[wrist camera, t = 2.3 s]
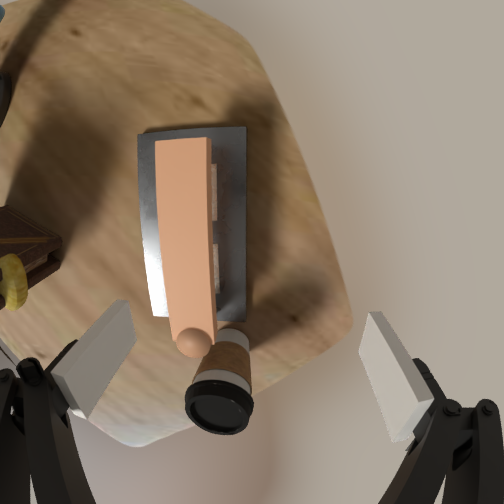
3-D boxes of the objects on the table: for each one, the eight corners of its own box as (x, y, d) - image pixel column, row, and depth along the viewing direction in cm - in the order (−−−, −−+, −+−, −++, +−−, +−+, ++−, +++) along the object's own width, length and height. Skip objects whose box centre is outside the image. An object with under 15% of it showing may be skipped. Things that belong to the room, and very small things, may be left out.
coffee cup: (221, 368, 43) (206, 440, 29) (193, 331, 41) (166, 402, 26) (266, 353, 41) (265, 429, 27) (241, 313, 39) (229, 388, 25)
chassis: (141, 135, 31) (117, 131, 25) (246, 127, 31) (242, 119, 25) (156, 311, 40) (140, 335, 34) (246, 317, 39) (242, 344, 33)
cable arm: (164, 142, 25) (153, 140, 23) (211, 139, 25) (205, 136, 22) (180, 342, 33) (174, 355, 30) (218, 345, 33) (215, 359, 30)
